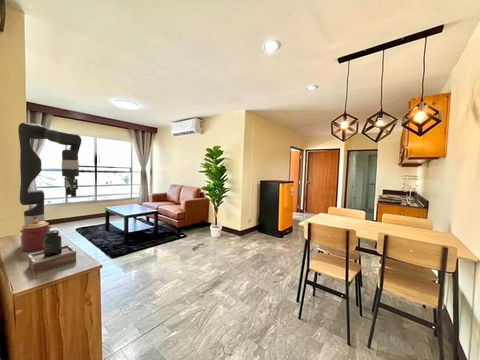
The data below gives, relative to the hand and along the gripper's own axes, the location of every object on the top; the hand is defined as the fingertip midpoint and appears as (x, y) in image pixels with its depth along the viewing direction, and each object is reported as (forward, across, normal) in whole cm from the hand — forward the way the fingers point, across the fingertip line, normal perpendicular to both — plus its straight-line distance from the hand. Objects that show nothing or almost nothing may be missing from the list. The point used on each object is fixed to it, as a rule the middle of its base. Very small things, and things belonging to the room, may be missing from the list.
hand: (71, 195), depth 117 cm
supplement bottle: (+28, +11, -11) cm, 32 cm away
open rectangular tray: (+33, +11, -11) cm, 37 cm away
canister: (+33, -20, -12) cm, 41 cm away
